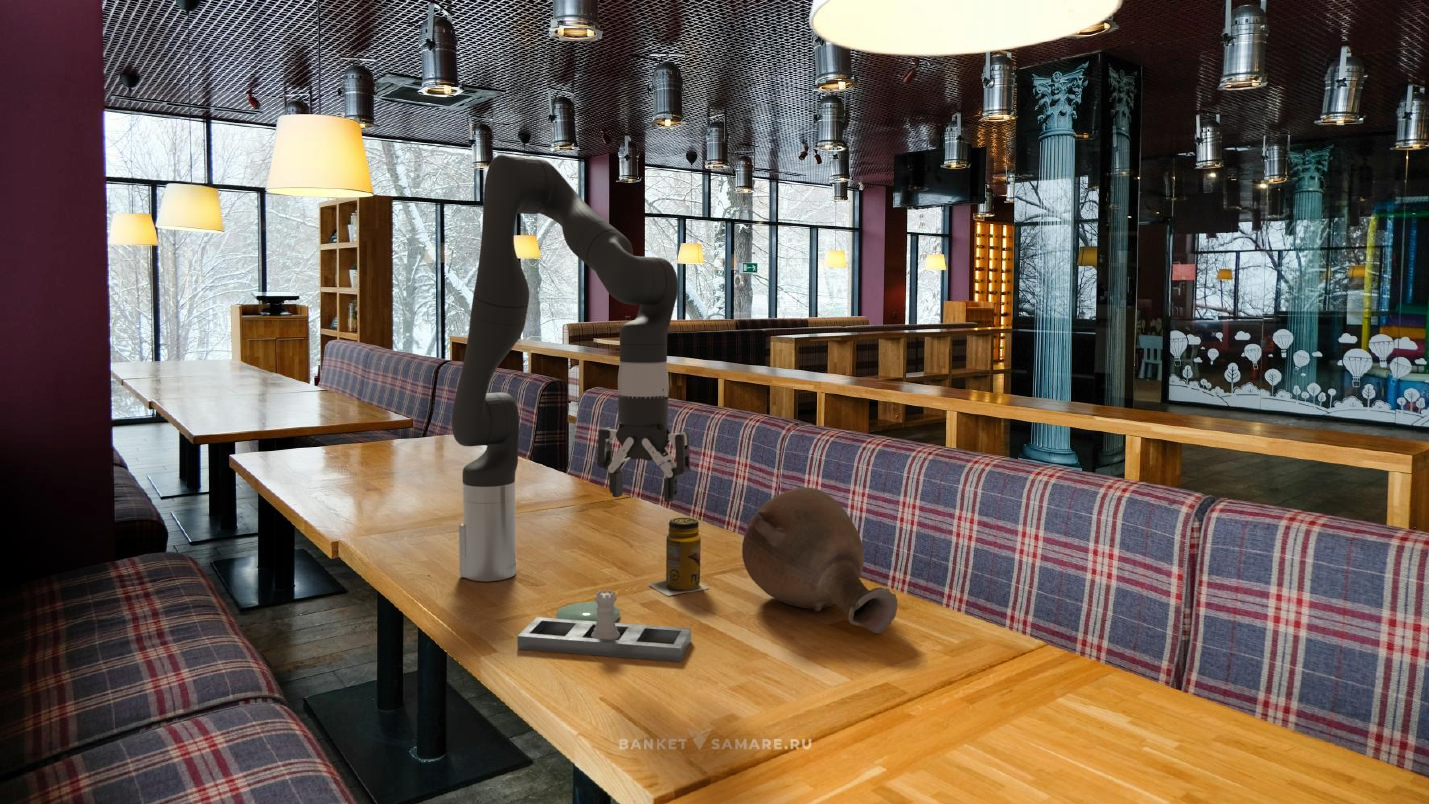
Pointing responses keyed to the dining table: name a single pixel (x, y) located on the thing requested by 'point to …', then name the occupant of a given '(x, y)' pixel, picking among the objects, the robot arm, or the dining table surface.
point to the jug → (813, 558)
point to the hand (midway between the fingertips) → (643, 498)
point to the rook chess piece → (605, 617)
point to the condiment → (682, 558)
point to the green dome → (582, 612)
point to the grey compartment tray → (625, 647)
